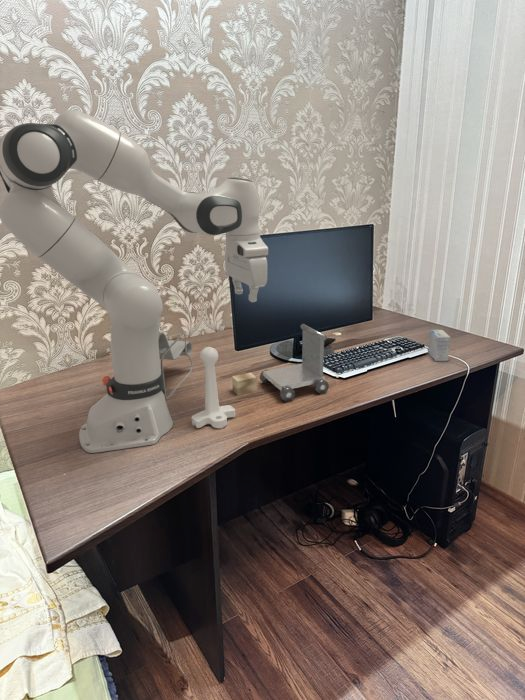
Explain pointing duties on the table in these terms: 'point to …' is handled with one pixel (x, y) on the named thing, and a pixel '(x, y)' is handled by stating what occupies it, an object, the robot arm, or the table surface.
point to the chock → (244, 383)
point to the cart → (301, 368)
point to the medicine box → (439, 345)
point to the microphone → (328, 341)
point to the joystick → (212, 395)
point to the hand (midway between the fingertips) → (245, 297)
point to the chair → (174, 352)
